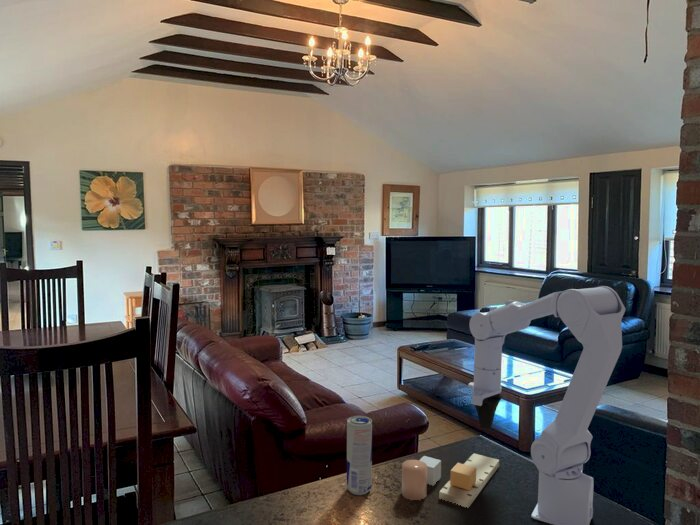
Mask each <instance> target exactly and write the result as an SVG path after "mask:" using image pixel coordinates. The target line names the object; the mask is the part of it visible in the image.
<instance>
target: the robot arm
mask: <svg viewBox="0 0 700 525" xmlns="http://www.w3.org/2000/svg"><path fill="white" fill-rule="evenodd" d="M625 312H626V307H625V304H623V301H622V299H621V298H620V296H619V294H618V292H617V291H615V290H614V289H613V288H612V287H610V286H606V285H599V286H595V287H588V288H579V289H576V288H569V289H566V290H562V291H561V290H559V291H556V292H552V293H549V294H547V295H545V296H542V297H540V298H537V299H535V300H532V301H530V302H527V303H526V304H524V303H523V302H521V301H517V300H514V299H513V300H512V299H510V300H507V301H504V305H502V306H499V307H497V306H492V307H490V308H489V311H487V312H485V311H484V312H480V311H478V312H475V314H473V315H472V316H471V317H470V319H469V324H468V325H469V331H470V333H471V335H472V337H473V338H474V353H473V354H474V360H473V366H474V367H473V369H474V370H473V382H472V381H471V382H469V383H468V386H467V387H468V388H470V389H472V394H471V405H474V407H475V410H476V414H477V418H478V424H479V427H480V428H483V429H486V430H490V429H491V428H492V426H493V423H494V419H495V414H496V411H497V408H498V405H499V403H500V401H501V400H502V398H503V396H502V394H501V393H502V362H503V361H502V360H503V359H502V357H503V356H502V355H503V345H504V344H505V338H506V336H507V335H508V334H513V333H515V332H519V331H522V330H525V329H528V328H529V326H530V324H531V321H532V320H536V319H540V318H544V317H547V316H551V315H553V316H554V317H555V318H560V320H561V321H562V322H563V324H564V325H565V326H566V327H567V328H568V330H569V331H570V333H571V334H572V335H573V336H574V337H575V339H576V340H577V342H579V343H581V345H582V347H583V349H582V351H581V353H580V356H579V359H578V362H577V364H576V366H575V369H574V372H573V374H572V376H571V379H570V381H569V384H568V386H567V390H566V391H565V394H564V396H563V399H562V401H561V404H560V406H559V409H558V412H557V414H556V416H555V419H553V421H551V423H550V424H548V425H547V426H546V427H545V428H544V429H543V430H542V431H541V433H540V436H539V437H538V438H536V439H534V441H533V442H532V444H531V447H530V456H531V459H532V461H533V463H534V465H535V466H536V469H537V470H538V487H537V488H538V489H537V490H538V491H537V492H538V493H537V495H538V496H537V503H536V505H535V507H534V509H533V511H532V513H531V515H530V516H531V518H532V519H534V520H537V521H540V522H544V523H547V524H550V525H590V523H591V520H592V519H593V516H594V506H593V503H594V502H593V501H594V480H595V479H594V477H592V476H590V475H587V474H585V473H584V472H582V471H584V464H586V463H587V462H588V461H589V460H590V458H591V453H592V452H591V443H592V440H593V439H594V438H593V435H592V433H591V432H590V431H589V426H590V424H591V422H592V419H593V417H594V415H595V413H596V410H597V408H598V405H599V404H600V402H601V399H602V396H603V394H604V392H605V390H606V387H607V385H608V382H609V380H610V378H611V376H612V373H613V371H614V369H615V367H616V364H617V362H618V359H619V358H620V355H621V353H622V350H623V332H622V331H623V330H622V319H623V316H624V315H625Z"/></svg>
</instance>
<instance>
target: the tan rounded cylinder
mask: <svg viewBox="0 0 700 525" xmlns="http://www.w3.org/2000/svg"><path fill="white" fill-rule="evenodd" d="M419 460H420V459H419ZM419 460H418V459H407V460H405V461H404V462H402V464H401V496H402V497H403V498H404V499H406V500H408V499H409V501H413V500H419V501H422V500H421V499H423V500H424V499H426V498H425V497H427V492H428V491H427V490H428V488H427V487H428V484H427V465H426V463H424V462H422V461H419Z"/></svg>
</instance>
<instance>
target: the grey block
mask: <svg viewBox="0 0 700 525" xmlns="http://www.w3.org/2000/svg"><path fill="white" fill-rule="evenodd" d="M419 461H422V462H424V463H426V465H427V485H428V484H429V486H431V485H432V487H434V486H435V485H436V484H437V483H438V482H437V481H440V480H441V478H442V460H440V459H437V458H434V457H430V456H426V455H423V456H422V457H421V458H420V459H419ZM436 482H437V483H436Z"/></svg>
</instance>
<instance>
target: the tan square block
mask: <svg viewBox="0 0 700 525" xmlns="http://www.w3.org/2000/svg"><path fill="white" fill-rule="evenodd" d="M449 472H450V477H449V480H450V485H453V486H457V487H460V488H463V489H467V490H470V489H471V487H472V486H473V485H474V484H475V482H476V467H472V466H469V465H465V464H464V463H461V462H457V463H456V464H455V465H454V466H453V467H452V468H451V470H450V471H449Z"/></svg>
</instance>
